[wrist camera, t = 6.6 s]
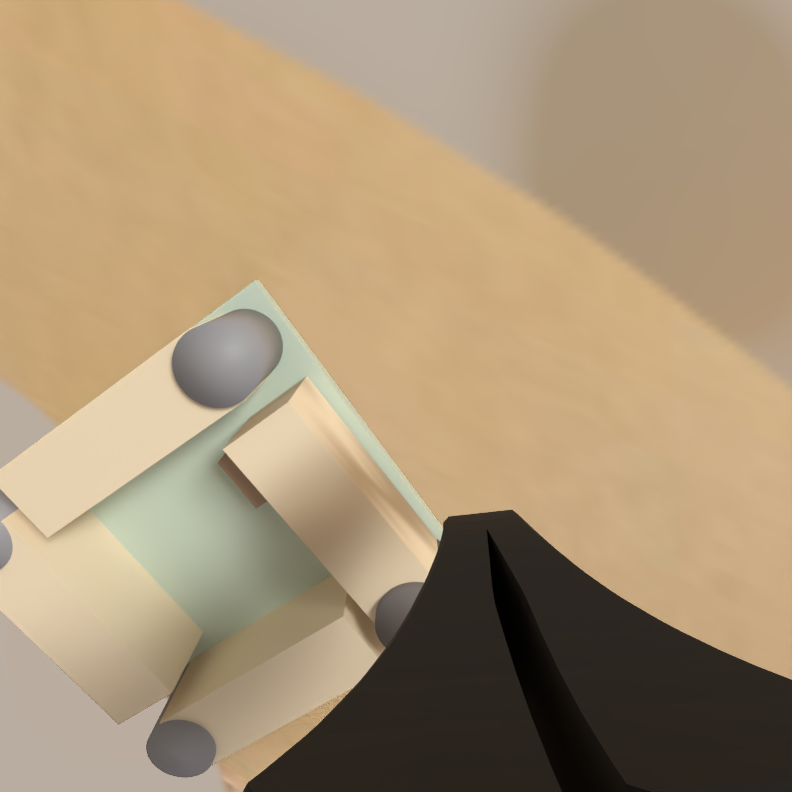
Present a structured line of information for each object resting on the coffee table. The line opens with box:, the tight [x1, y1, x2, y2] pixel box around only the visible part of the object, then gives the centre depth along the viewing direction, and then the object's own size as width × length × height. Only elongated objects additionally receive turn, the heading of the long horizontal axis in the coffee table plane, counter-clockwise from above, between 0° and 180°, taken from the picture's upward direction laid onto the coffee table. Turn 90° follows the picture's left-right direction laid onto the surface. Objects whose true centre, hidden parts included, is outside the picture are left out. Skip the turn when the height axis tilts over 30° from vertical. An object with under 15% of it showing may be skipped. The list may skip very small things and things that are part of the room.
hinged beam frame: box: [0, 280, 443, 777], centre depth 19 cm, size 13×13×4 cm
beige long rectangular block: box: [223, 376, 440, 648], centre depth 18 cm, size 9×3×3 cm, turn 36°
